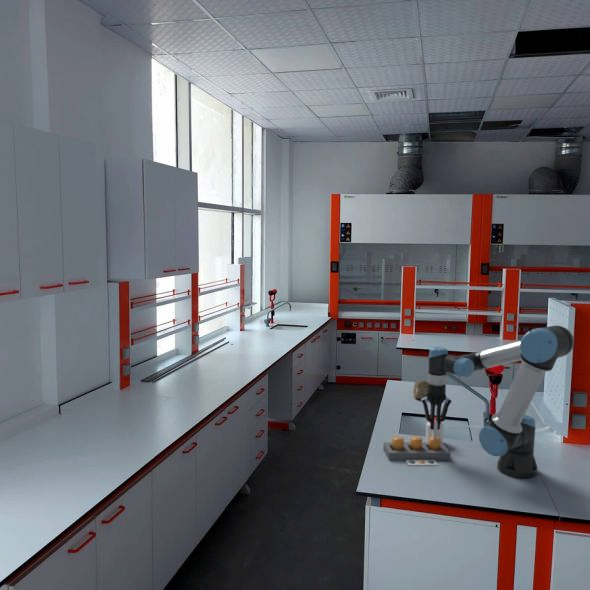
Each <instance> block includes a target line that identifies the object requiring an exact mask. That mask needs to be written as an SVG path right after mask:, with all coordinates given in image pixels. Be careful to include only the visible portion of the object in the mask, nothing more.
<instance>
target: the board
mask: <svg viewBox="0 0 590 590" xmlns="http://www.w3.org/2000/svg"><path fill="white" fill-rule="evenodd" d="M428 447H429V442H426V441H425V442H424V441H422V450H411V449H410V441H408V442H404V450H393V449H392V441H391V442H389V441H387V442H383V451H384V454H385V455H386V458H387V459H388V461H406V460H435V461H437V460H439V461H441V460H442V461H444V460H445V461H446V460H447V461H450V460H451V452H450V450H449V449H448V448H447V447H446V446H445V444H444V442H443V443H442V442H441V445H440V450H430V449H429V448H428Z"/></svg>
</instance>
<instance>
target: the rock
mask: <svg viewBox="0 0 590 590" xmlns="http://www.w3.org/2000/svg"><path fill="white" fill-rule="evenodd" d="M428 383H429V382H428V381H424V380H422V381H415V383H414V385H413V392H412V393H413V397H414V398H416V399H418V400H421V398H425V397H426V395H427V391H428Z"/></svg>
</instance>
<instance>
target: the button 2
mask: <svg viewBox="0 0 590 590" xmlns="http://www.w3.org/2000/svg"><path fill="white" fill-rule="evenodd" d="M440 445H441V439H440V438H439V437H437V438H433V437H429V447H428V448H429V449H430V450H440Z"/></svg>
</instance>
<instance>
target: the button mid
mask: <svg viewBox="0 0 590 590" xmlns="http://www.w3.org/2000/svg"><path fill="white" fill-rule="evenodd" d="M409 439H410V441H409V442H410V449H411V450H422V442H423V438H422V437H420V436H411V437H410V438H409Z"/></svg>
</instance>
